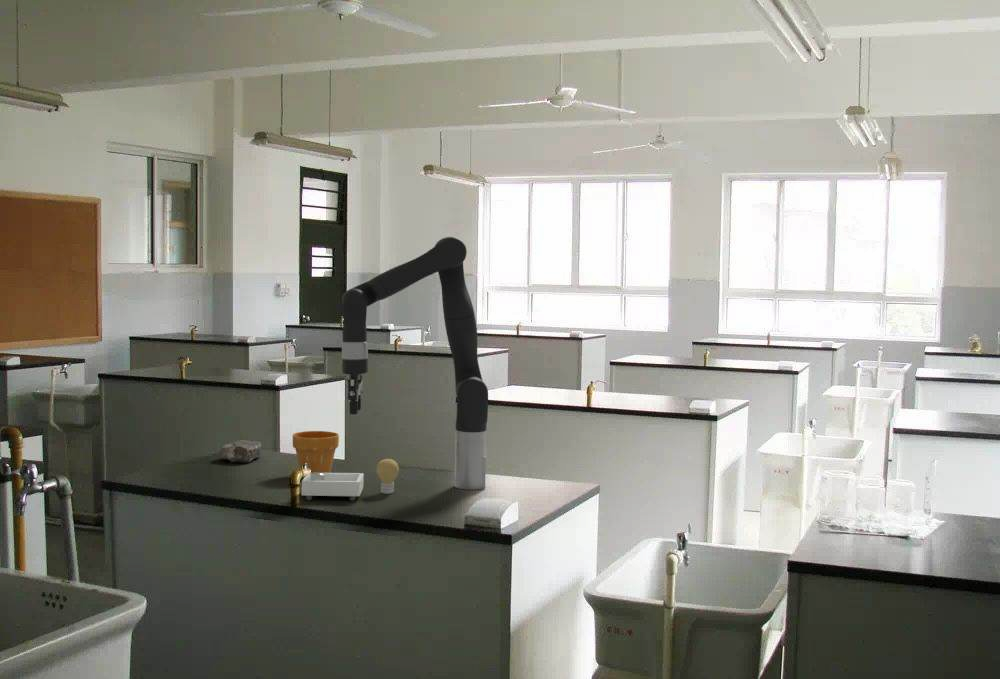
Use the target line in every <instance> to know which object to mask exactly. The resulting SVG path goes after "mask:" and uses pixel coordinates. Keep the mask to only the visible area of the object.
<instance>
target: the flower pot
mask: <svg viewBox="0 0 1000 679" xmlns="http://www.w3.org/2000/svg"><path fill="white" fill-rule="evenodd" d="M339 442H340V435H339V433H337V432H333V431H325V430H309V431H308V430H306V431H300V432H295V433H292V447H293V448H294V450H295V452H296V457H297V463H298V468H299V467H301V466H302V465H304V464H305V463H309V467H310V468H311V473H313V472H323V473H331V472H332V471H331V470H332V468H333V467H332V466H333V462H334V458H335V453H336V449H338V447H339Z"/></svg>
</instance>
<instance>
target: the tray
mask: <svg viewBox="0 0 1000 679" xmlns="http://www.w3.org/2000/svg"><path fill="white" fill-rule="evenodd" d="M364 480H365V478H364V472H362V473H360V472H330V473H325V481H310V473H308V474H307V475H306V476H305V477H303V479H302V480H301V496H306V500H307V501H312V499H313V496H314V497H316V496H318V497H319V496H321V497H322V496H323V497H324V496H325V497H326V496H327V497H349V500H350V502H354V501H355V500H356V497H360V496H361V494H362V491H363V489H364V484H365V483H364Z"/></svg>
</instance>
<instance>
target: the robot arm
mask: <svg viewBox="0 0 1000 679" xmlns="http://www.w3.org/2000/svg"><path fill="white" fill-rule="evenodd" d="M467 252H468V251H467V246H466V245H465V243H464V241H462V240H461V239H459V238H458V237H454V236H447V237H446V236H445V237H442V238H441V239H439V240H438V241H437V242H436V243H435V244H434V246H433V247H432V248H431V249H429V250H428V251H426V252H425V253H423V254H421V255H420V256H419V255H418V257H416V258H413V259H411V260H409V261H407V262H404V263H402V264H399V265H397V266H394V267H392V268H390V269H388V270H386V271H385V272H382V273H380V274H378V275H376V276H375V277H373V278H371V279H370V280H368V281H365V282H363V283H361V284H358V285H357V286H354V287H352V288H349V289H348V290H346V291H345V292H344V293H343V295H342V296H341V297H342V298H341V304H342V315H343V316H342V318H343V324H342V345H341V372H342V374H345V375H349V378H348V380H347V399H348V402H349V414H350V415H357V414H358V412H359V411H360V410H361V409H362V397H363V390H364V389H363V382H364V381H363V375H365V374H367V373H368V372H369V348H368V335H367V334H368V331H367V314H368V313H367V312H368V310H367V309H368V307H370V306H371V305H373V304H375V303H376V302H378V301H383V300H385V299H387V298H389V297H392V296H394V295H396V294H398V293H399V292H401V291H403V290H405V289H406V288H409V287H410V286H412V285H414V284H415V283H417V282H419V281H421V280H422V279H425V278H427V277H429V276H431V275H433V274H436V273H438V278H439V283H440V286H441V287H440V288H441V298H442V299H441V300H442V310H443V311H442V312H443V319H444V325H445V331H446V337H447V340H448V341H447V342H448V345H449V349H450V353H451V357H452V360H453V367H454V380H455V381H454V382H455V396H456V419H455V435H454V436H455V438H454V439H455V440H454V442H455V443H454V444H455V445H454V480H453V481H454V488H456V489H460V490H481V489H486V475H487V474H486V472H487V471H486V469H487V468H486V467H487V466H486V465H487V464H486V463H487V455H486V454H487V452H486V450H487V422H488V417H489V416H488V415H489V413H488V412H489V389H488V386H487V385H486V383H485V382H484V380H483V377H482V374H481V370H480V365H479V361H478V328H477V321H476V320H477V319H476V314H475V313H476V312H475V309H474V306H473V302H472V299H471V296H470V293H469V290H468V288H467V285H466V280H465V270H464V261H465V259H466V258H467V255H468V254H467Z"/></svg>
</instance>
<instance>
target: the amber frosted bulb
mask: <svg viewBox="0 0 1000 679" xmlns="http://www.w3.org/2000/svg"><path fill="white" fill-rule="evenodd" d="M399 470H400V468H399V464H398V462H397V461H396V460H394V459H391V458H384V459H382V460H380V461H379V462H378V463H377V466H376V474H377V476H378V478H379V479H380V480H381V482H380V492H381V493H382V494H385V495H391V494H392V493H394V492H395V489H394V488H395V482H394V481H395V479H396V478H397V476H398V474H399V472H400V471H399Z"/></svg>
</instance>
